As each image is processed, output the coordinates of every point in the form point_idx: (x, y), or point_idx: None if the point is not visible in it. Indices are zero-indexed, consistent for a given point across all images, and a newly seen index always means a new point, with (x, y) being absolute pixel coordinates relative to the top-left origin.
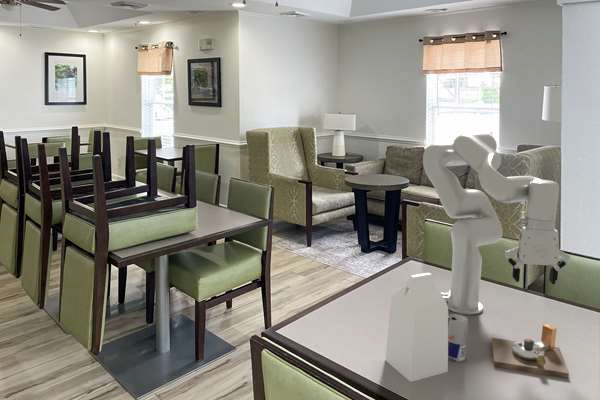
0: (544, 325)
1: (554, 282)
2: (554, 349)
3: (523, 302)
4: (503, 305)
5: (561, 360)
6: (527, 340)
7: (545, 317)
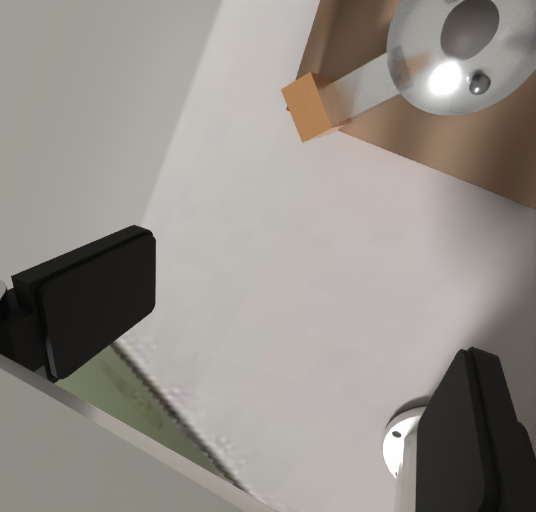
0: (326, 123)
1: (130, 229)
2: None
3: (241, 412)
4: (305, 418)
5: None
6: (474, 35)
7: (223, 329)
